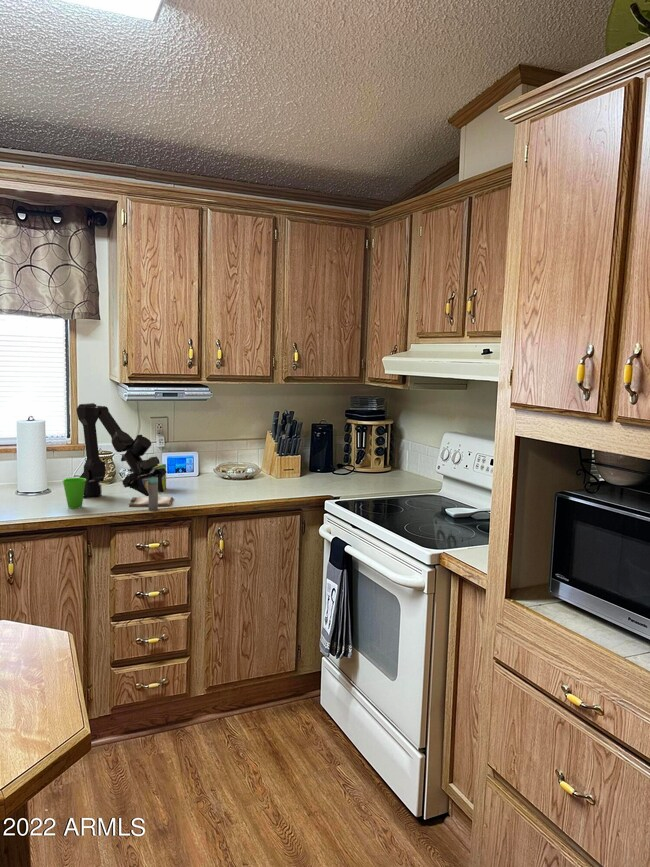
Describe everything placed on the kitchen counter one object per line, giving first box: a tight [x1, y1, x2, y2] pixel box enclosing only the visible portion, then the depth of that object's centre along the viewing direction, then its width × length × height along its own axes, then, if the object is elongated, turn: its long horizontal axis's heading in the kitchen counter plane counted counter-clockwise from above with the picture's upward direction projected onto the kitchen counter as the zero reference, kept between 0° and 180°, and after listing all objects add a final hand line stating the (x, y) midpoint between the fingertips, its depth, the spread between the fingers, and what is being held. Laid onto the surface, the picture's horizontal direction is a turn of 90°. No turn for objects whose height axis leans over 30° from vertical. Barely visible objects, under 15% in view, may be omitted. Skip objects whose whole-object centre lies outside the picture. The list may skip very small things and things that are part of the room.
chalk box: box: [142, 456, 167, 493], centre depth 294 cm, size 9×9×15 cm
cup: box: [61, 477, 86, 509], centre depth 261 cm, size 9×9×11 cm
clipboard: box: [128, 496, 173, 508], centre depth 272 cm, size 16×13×2 cm
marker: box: [147, 477, 159, 512], centre depth 259 cm, size 4×4×13 cm
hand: (155, 494), depth 259 cm, fingers open, 7 cm apart
